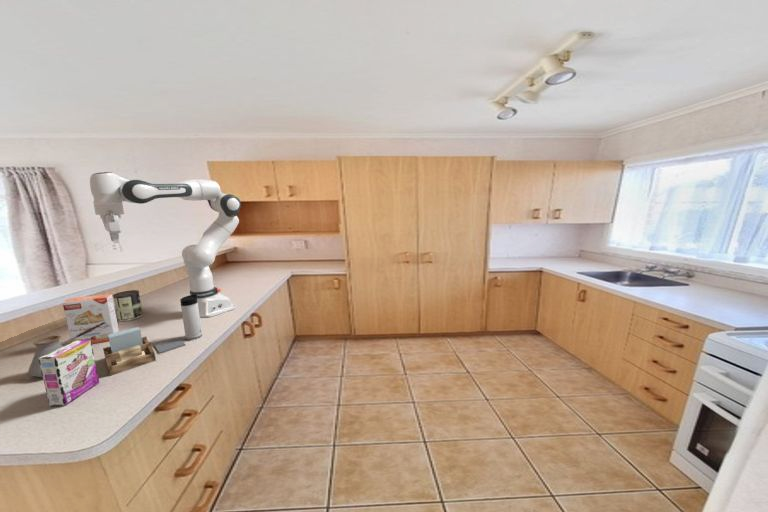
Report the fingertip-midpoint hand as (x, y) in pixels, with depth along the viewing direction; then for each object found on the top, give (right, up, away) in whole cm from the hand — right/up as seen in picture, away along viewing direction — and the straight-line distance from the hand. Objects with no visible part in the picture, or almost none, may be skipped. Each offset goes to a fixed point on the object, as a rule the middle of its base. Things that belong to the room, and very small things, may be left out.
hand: (115, 241), depth 119 cm
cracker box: (-11, -45, +3) cm, 47 cm away
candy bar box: (+19, -52, -31) cm, 63 cm away
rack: (+19, -48, -12) cm, 53 cm away
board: (+16, -48, -10) cm, 51 cm away
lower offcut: (+22, -49, -15) cm, 56 cm away
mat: (+25, -46, -1) cm, 52 cm away
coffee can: (-20, -40, +28) cm, 53 cm away
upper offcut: (+22, -45, -16) cm, 53 cm away
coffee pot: (+1, -49, -16) cm, 51 cm away
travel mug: (+31, -45, +7) cm, 55 cm away
